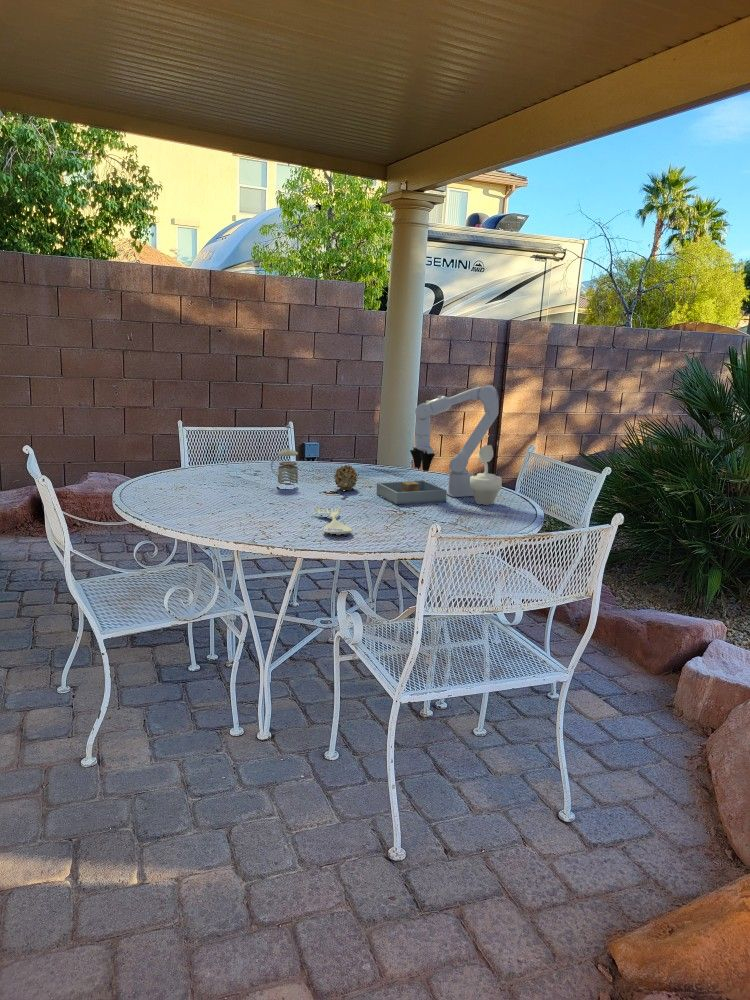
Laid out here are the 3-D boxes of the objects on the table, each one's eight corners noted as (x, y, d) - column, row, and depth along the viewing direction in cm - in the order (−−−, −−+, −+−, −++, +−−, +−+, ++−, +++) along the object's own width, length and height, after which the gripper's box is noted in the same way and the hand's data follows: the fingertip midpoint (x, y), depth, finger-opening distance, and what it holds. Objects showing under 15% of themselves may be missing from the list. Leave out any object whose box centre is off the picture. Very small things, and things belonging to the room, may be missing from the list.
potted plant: (500, 507, 264) (503, 438, 258) (467, 505, 266) (470, 437, 261) (501, 500, 276) (504, 434, 271) (470, 498, 278) (473, 433, 273)
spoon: (339, 514, 249) (339, 504, 249) (355, 539, 219) (355, 527, 218) (313, 515, 248) (313, 505, 247) (325, 540, 217) (325, 528, 216)
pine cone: (334, 486, 297) (334, 462, 295) (357, 486, 297) (358, 462, 295) (332, 497, 276) (332, 471, 273) (357, 497, 276) (357, 471, 274)
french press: (302, 489, 290) (302, 426, 285) (273, 490, 287) (272, 426, 282) (298, 484, 299) (298, 423, 294) (269, 485, 296) (269, 423, 291)
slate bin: (423, 491, 290) (423, 480, 289) (446, 501, 272) (446, 490, 271) (376, 494, 283) (376, 482, 282) (396, 505, 265) (396, 492, 264)
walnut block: (413, 494, 280) (413, 481, 279) (419, 496, 276) (419, 483, 275) (401, 495, 278) (401, 482, 277) (407, 497, 274) (407, 484, 273)
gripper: (405, 432, 288) (404, 466, 290) (421, 437, 274) (420, 472, 277) (422, 432, 290) (420, 465, 293) (438, 436, 277) (436, 472, 280)
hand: (421, 469), depth 285 cm, fingers open, 7 cm apart
